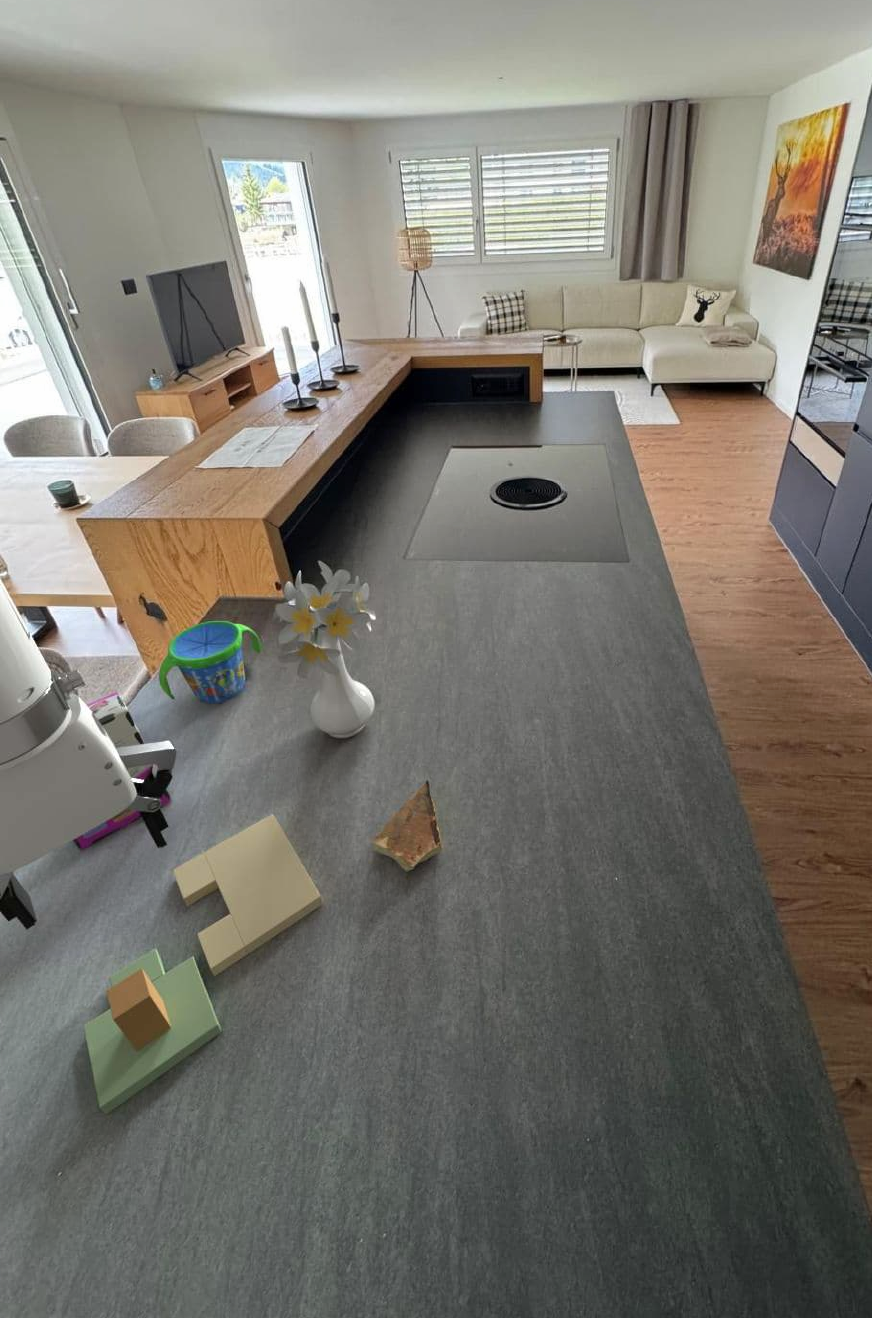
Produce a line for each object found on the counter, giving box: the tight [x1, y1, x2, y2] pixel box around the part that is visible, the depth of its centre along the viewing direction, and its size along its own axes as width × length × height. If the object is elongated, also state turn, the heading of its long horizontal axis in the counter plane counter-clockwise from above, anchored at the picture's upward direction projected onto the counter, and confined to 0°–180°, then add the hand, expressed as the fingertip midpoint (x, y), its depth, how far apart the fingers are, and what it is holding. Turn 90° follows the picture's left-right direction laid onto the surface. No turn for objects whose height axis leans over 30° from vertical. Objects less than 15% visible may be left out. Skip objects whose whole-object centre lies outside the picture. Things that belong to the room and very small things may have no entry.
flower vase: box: [272, 560, 377, 739], centre depth 86 cm, size 13×18×25 cm
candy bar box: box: [72, 690, 172, 851], centre depth 76 cm, size 11×5×16 cm, turn 131°
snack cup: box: [158, 620, 262, 704], centre depth 98 cm, size 16×10×10 cm
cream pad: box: [172, 813, 324, 977], centre depth 70 cm, size 12×14×2 cm
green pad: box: [83, 948, 223, 1115], centre depth 58 cm, size 11×10×8 cm
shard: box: [372, 779, 444, 872], centre depth 76 cm, size 11×8×2 cm
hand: (96, 873), depth 51 cm, fingers open, 9 cm apart
